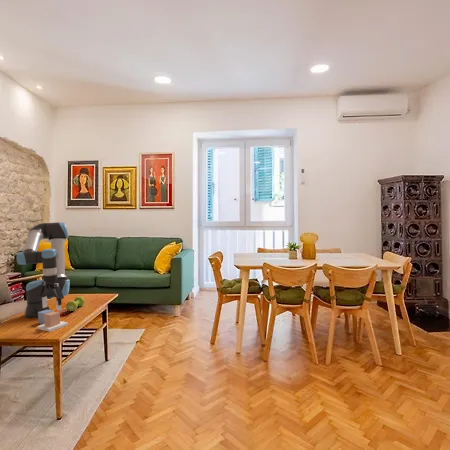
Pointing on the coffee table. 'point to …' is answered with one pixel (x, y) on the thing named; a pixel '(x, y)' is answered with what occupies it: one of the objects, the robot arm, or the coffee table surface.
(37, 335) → the coffee table surface
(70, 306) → the dumbbell
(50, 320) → the terracotta block
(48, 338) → the coffee table surface
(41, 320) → the slate block
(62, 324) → the baseboard
